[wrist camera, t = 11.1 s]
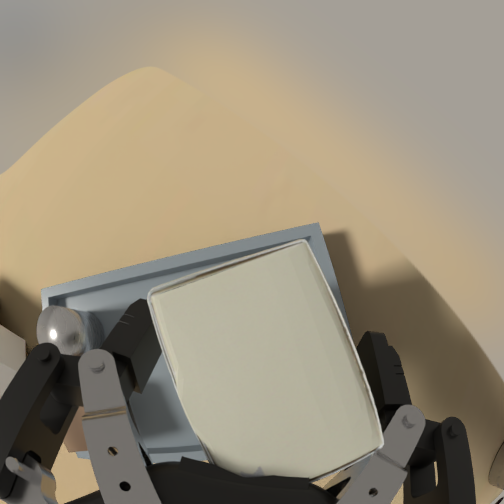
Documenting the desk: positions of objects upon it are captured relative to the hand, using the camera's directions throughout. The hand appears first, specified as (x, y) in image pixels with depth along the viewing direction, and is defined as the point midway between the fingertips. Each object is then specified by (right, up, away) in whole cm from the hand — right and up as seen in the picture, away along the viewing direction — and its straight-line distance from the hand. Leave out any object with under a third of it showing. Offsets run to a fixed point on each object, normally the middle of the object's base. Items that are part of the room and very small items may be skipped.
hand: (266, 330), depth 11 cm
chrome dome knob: (-13, -3, +7) cm, 15 cm away
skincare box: (0, -3, +7) cm, 7 cm away
